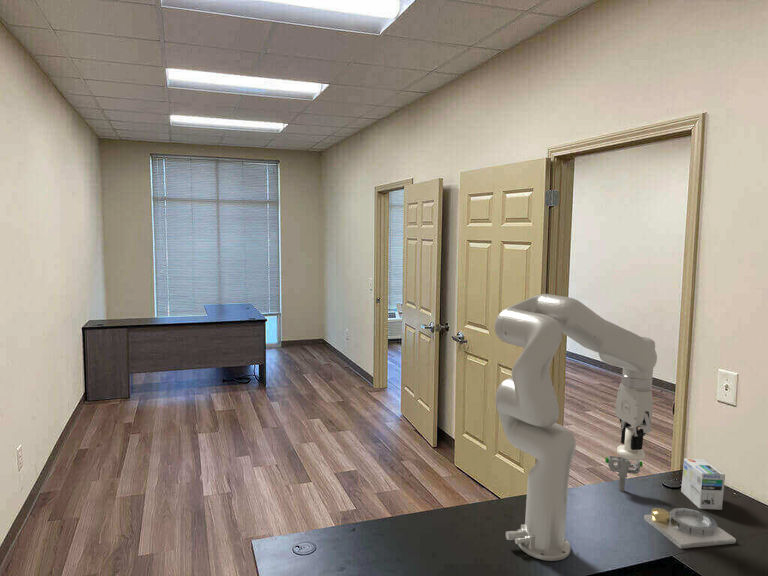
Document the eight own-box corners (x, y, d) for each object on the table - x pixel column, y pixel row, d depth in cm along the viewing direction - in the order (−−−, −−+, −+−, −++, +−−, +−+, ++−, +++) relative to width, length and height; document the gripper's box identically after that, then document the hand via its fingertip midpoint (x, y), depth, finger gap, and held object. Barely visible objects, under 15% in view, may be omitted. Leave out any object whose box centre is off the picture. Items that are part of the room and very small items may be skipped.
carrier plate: (680, 548, 138) (681, 536, 138) (643, 519, 152) (644, 508, 151) (735, 543, 141) (736, 531, 141) (694, 514, 155) (695, 503, 154)
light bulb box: (722, 510, 158) (726, 474, 157) (699, 509, 158) (702, 473, 157) (701, 492, 169) (705, 458, 167) (679, 491, 169) (683, 457, 167)
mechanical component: (640, 494, 166) (643, 462, 164) (604, 490, 168) (606, 459, 166) (638, 490, 168) (640, 458, 167) (602, 486, 170) (605, 455, 169)
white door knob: (627, 461, 150) (629, 434, 149) (611, 450, 156) (613, 425, 156) (650, 459, 151) (652, 433, 150) (633, 449, 158) (635, 424, 157)
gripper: (606, 374, 159) (601, 435, 161) (644, 391, 142) (638, 459, 145) (629, 373, 160) (624, 434, 162) (670, 390, 144) (663, 458, 146)
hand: (631, 445), depth 153 cm, fingers closed on white door knob, 3 cm apart
